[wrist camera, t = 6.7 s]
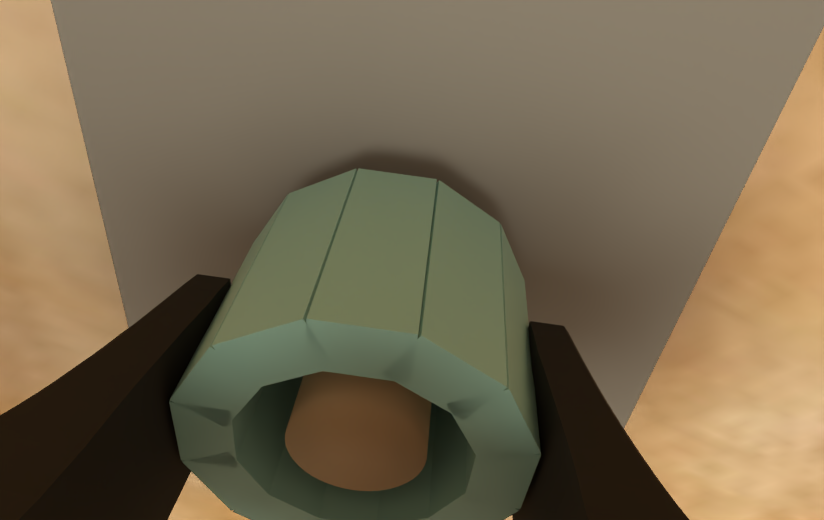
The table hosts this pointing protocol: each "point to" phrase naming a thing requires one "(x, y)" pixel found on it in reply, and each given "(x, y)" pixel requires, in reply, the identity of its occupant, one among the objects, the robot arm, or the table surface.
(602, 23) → the grey board
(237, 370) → the green ring
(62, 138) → the table surface
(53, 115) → the table surface
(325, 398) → the beech post
